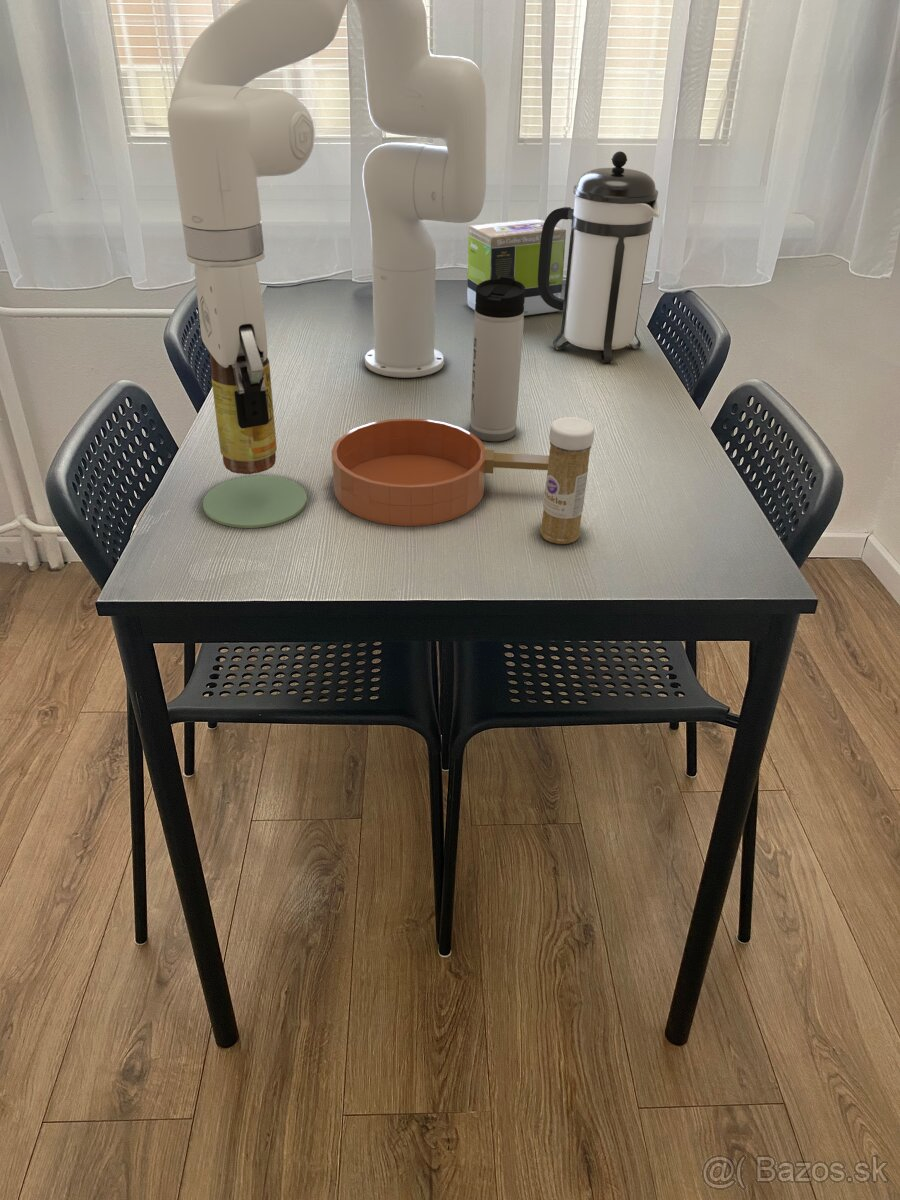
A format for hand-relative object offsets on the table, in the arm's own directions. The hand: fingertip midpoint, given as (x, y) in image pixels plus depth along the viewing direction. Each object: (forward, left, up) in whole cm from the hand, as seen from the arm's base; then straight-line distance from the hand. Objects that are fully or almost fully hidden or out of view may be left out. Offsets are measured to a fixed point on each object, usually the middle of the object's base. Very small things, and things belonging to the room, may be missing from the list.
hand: (244, 411), depth 97 cm
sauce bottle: (0, 0, -7) cm, 7 cm away
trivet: (0, 0, -11) cm, 11 cm away
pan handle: (+11, +31, -8) cm, 34 cm away
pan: (+4, +18, -11) cm, 22 cm away
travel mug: (-6, +35, -12) cm, 37 cm away
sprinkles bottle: (+21, +29, -12) cm, 38 cm away
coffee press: (-29, +66, -12) cm, 73 cm away
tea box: (-52, +64, -12) cm, 83 cm away
